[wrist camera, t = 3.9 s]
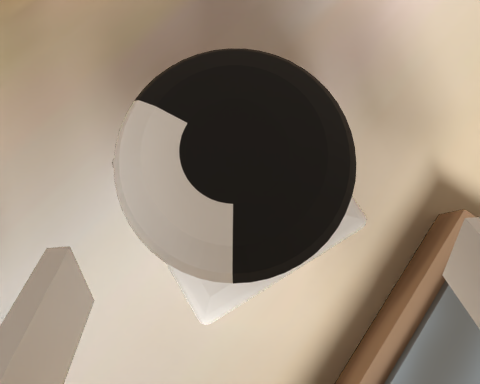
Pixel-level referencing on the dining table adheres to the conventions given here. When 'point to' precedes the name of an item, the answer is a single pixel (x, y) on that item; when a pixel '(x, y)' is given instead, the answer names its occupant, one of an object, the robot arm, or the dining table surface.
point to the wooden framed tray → (421, 323)
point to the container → (236, 174)
